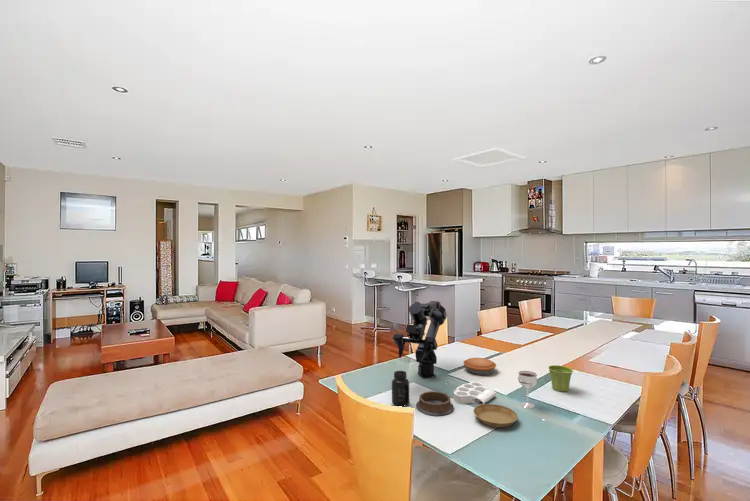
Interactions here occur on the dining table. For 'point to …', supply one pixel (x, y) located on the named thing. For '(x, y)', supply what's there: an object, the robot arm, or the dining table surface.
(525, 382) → the wineglass
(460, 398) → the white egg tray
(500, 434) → the dining table surface
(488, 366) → the pie
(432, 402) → the walnut collar
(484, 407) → the plant saucer
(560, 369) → the plant pot
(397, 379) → the supplement bottle
